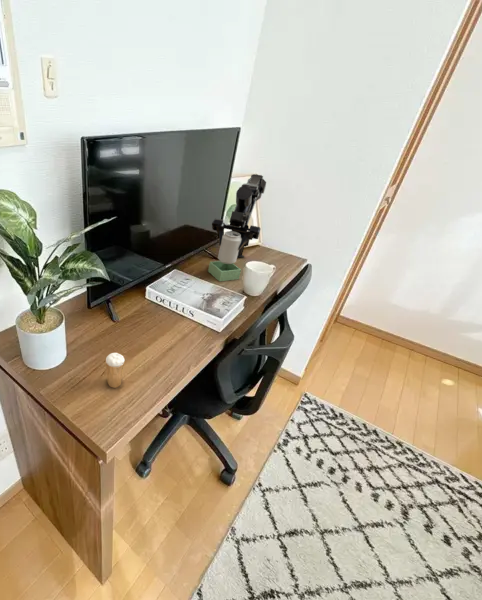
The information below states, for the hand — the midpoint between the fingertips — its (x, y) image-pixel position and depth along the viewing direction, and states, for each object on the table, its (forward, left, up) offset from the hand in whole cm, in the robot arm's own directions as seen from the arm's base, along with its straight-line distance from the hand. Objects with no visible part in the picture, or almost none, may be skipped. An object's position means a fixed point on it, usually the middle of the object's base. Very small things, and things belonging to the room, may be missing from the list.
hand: (229, 247), depth 128 cm
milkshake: (+60, +46, -13) cm, 77 cm away
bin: (-1, -1, -13) cm, 13 cm away
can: (-1, -1, -7) cm, 7 cm away
